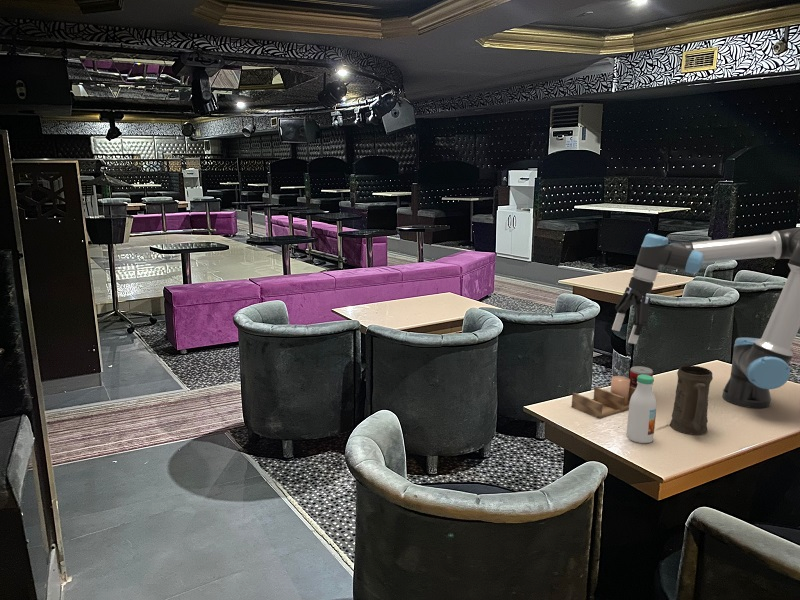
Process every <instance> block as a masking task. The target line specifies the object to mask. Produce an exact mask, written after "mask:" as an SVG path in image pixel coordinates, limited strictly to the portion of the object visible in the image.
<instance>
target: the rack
mask: <svg viewBox="0 0 800 600" xmlns="http://www.w3.org/2000/svg"><path fill="white" fill-rule="evenodd" d="M593 390H594V391H593V398H589V397H587V396H584V395H581V394H579V393H577V392H572V397H571V408H573V409H575V410H578V411H579V412H582V413H585V414H587V415H589V416H592V417H594V418H596V419H599V420H600V419H604V418H607V417H612V416H614V415H615V416H616V415H618V414H621V413H624V412H629V404H630V399H631V396H632V394H633V393H634V391H635V390H636V388H634V387H631V386H629V397H628V405H627V406H624V402H625V398H624V397H622V396H619V395H616V394H614V393H611V391H608V390H605V389H602V388H600V387H597V386H595V387H594V389H593Z"/></svg>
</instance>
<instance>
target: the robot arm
mask: <svg viewBox="0 0 800 600" xmlns="http://www.w3.org/2000/svg"><path fill="white" fill-rule="evenodd" d="M640 246H641V247H640V249H639V253H638V255H637V259H636V262H635V266H634V267H633V272H632V274H631V275H632V277H630V280H629V283H628V286H626V288H625V291H624V292H623V294H622V296H621V297H620V298H619V301H617V304H616V305H615V307H614V308H615V310H616V312H617V313H616V314H615V315H616V316H615V319H614V321H613V324H612V326H611V327H612V328H611V330H612V331H616V332H620V331H621V328H622V326H623V322H624V319H625V316H626V313H627V310H629V309H630V308H631V306H633V308H634V313H635V314H634V315H635V322H634V323H633V326H632V329H631V332H630V335H629V338H628V341H627V343H628V344H633V345H637V343H638V341H639V337H640V334H641V331H642V328H644V327H648V323H649V312H650V311H649V309H650V303H651V300H652V299H651V297H647V294H650V293H652V290H653V286H654V282H655V281H656V278H657V275H658V272H659V269H660V267H661V266H662V267H667V268H669V269H674V270H678V271H680V272H685V273H687V274H689V273H690V274H698V272H699V271H700V269H701V268H702V266H703V264H704V263H715V262H725V261H736V260H738V261H739V260H747V259H748V260H750V259H758V258H759V259H760V258H771V257H773V258H774V259H775V260H781V259H789V261H788V263H787V265H788V267H789V269H790V272H789V273H788V276H787V279H786V281H785V284H784V285H783V288H782V290H781V293H780V295H779V297H778V300H777V301H776V304H775V307H774V308H773V311H772V312H771V315H770V317H769V320H768V322H767V324H766V327H765V329H764V331H763V334H762V336H761V337H760V338H756V337H737V338H736V339H735V341H734V345H733V355H732V361H731V362H732V363H731V369H730V377H729V379H728V380H727V383H726V384H725V387H724V388H723V389H722V396H721V397H722V398H723V399H724V400H725V401H726V402H728V403H731V404H733V405H737V406H741V407H745V408H756V409H763V408H764V409H765V408H768V407H770V406H771V405H772V404H771V403H772V395H771V392H770V390H775V389H778V388H781V387H782V386H783V387H784V385H785V384H786V383H787V382H788V381H789V379H790V377H791V370H790V369H791V368H790V366H789V365H790V363H791V361H792V359H793V356H794V353H793V352H792V350H791V347H792V345H793V343H794V341H795V338H796V336H797V334H798V331H799V329H800V226H799V227H793V228H788V229H781V230H774V231H773V232H771V234H764V235H761V234H760V235H753V236H743V237H734V238H733V237H732V238H722V239H714V240H713V239H712V240H703V241H692V242H684V243H678V242H672V243H669V238H668V237H665V236H662V235H660V234H659V235H658V234H655V233H647V234H646V235H645V236H644V238H643V242H642V244H641V245H640Z"/></svg>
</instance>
